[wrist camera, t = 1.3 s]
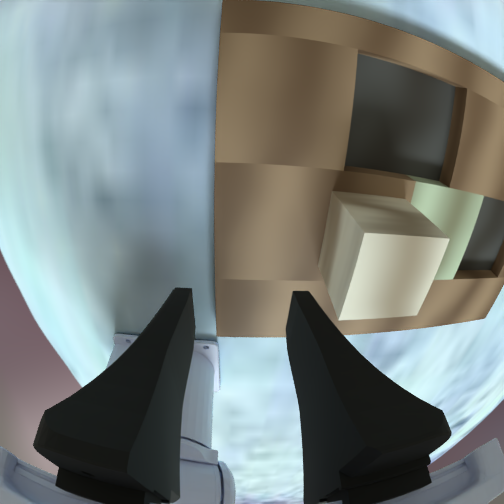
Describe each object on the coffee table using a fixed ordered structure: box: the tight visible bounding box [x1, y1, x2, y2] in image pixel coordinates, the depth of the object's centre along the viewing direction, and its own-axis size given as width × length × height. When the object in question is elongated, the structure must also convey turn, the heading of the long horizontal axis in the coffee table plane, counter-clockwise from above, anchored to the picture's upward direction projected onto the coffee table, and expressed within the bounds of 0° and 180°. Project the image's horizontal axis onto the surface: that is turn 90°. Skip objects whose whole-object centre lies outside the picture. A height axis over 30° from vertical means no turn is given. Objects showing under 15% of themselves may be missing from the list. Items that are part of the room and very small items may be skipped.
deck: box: [214, 0, 504, 337], centre depth 17 cm, size 28×22×2 cm
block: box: [318, 191, 450, 320], centre depth 15 cm, size 5×5×5 cm
